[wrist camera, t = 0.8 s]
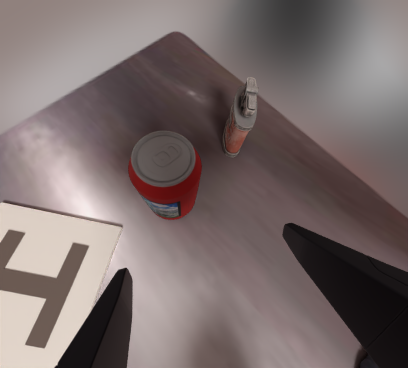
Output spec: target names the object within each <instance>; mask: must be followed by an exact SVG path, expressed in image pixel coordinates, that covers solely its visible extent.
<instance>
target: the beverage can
mask: <svg viewBox="0 0 408 368" xmlns="http://www.w3.org/2000/svg"><path fill="white" fill-rule="evenodd" d="M201 170H202V165H201V159H200V157H199V154H198V153H197V151H196V150H195V148H194V147H193V146H192V144H191V143H190V142H189V140H188V139H186V138H185V137H184V136H182V135H180V134H178V133H176V132H172V131H156V132H152V133H149V134H147V135H145V136H144V137H142V138H141V139H140V140H139V141H138V142H137V143H136V145H135V146H134V148H133V150H132V154H131V158H130V161H129V166H128V172H129V177H130V180H131V182H132V183H133V185H134V186H135V188H136V189H137V191H138V192H139V194H140V195H141V196H142V198H143V199H144V200H145V202H146V203H147V204H148V206H149V207H150V208H151V209H152V210H153V212H154V213H155V214H156V215H158V216H159V217H161V218H164V219H168V220H175V219H179V218H181V217H183V216H185V215H186V214H188V213H189V212H190V211H191V209H192V208H193V206H194V203H195V199H196V195H197V191H198V186H199V181H200V176H201Z"/></svg>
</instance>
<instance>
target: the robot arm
mask: <svg viewBox="0 0 408 368" xmlns="http://www.w3.org/2000/svg"><path fill="white" fill-rule="evenodd" d="M283 238H284V240H285V241H286V243H287V244H288V246H289V248H290V249H291V251H292V252H293V254H294V256H295V257H296V259H297V260H298V262H299V263H300V264H301V266H302V267H303V268H304V270H305V271H306V272H307V274H308V275H309V276H310V278H311V279H312V280H313V282H314V283H315V284H316V286H317V287H318V288H319V289H320V291H321V292H322V293H323V295H324V296H325V297H326V299H327V300H328V301H329V303H330V304H331V305H332V307H333V308H334V309H335V311H336V312H337V313H338V315H339V316H340V317H341V319H342V320H343V321H344V322H345V324H346V325H347V326H348V328H349V329H350V330H351V332H352V333H353V334H354V336H355V337H356V338H357V340H358V341H359V342H360V344H361V345H362V346H363V348H364V349H365V350H366V352H367V353H368V354H369V356H370V357H371V358H372V360H373V361H374V362H375V364H376V365H377V366H378V367H379V368H408V272H406V271H403V270H401V269H398V268H396V267H393V266H391V265H388V264H386V263H384V262H381V261H379V260H376V259H374V258H372V257H370V256H366V255H365V254H363V253H360V252H358V251H356V250H353V249H351V248H349V247H346V246H344V245H342V244H340V243H337V242H335V241H333V240H330V239H328V238H326V237H323V236H321V235H319V234H317V233H314V232H312V231H310V230H307V229H305V228H303V227H300V226H298V225H296V224H294V223H288V224H285V225H284V229H283ZM131 324H132V277H131V275H130V273H129V270H128V269H127V268H123V269H120V270H118V271H117V272H116V274H115V275H114V277H113V278H112V280H111V281H110V283H109V284H108V286H107V287H106V289H105V291H104V292H103V294H102V295H101V297H100V298H99V300H98V301H97V303H96V304H95V306H94V307H93V309H92V311H91V312H90V314H89V315H88V317H87V318H86V320H85V321H84V323H83V324H82V326H81V328H80V329H79V331H78V332H77V334H76V335H75V337H74V338H73V340H72V341H71V343H70V344H69V346H68V348H67V349H66V351H65V352H64V354H63V355H62V357H61V358H60V360H59V361H58V365H56V366H55V367H54V368H127V360H128V351H129V342H130V333H131Z"/></svg>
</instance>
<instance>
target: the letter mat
mask: <svg viewBox="0 0 408 368" xmlns="http://www.w3.org/2000/svg"><path fill="white" fill-rule="evenodd" d="M121 231H122V227H118V226H113V225H109V224H104V223H99V222H94V221H89V220H84V219H80V218H75V217H70V216H65V215H60V214H55V213H50V212H46V211H41V210H36V209H31V208H26V207H21V206H17V205H12V204H7V203H2V202H1V203H0V368H54V367H55V366H56V365H58V361H59V360H60V358H61V357H62V355H63V354H64V352H65V351H66V349H67V348H68V346H69V344H70V343H71V341H72V340H73V338H74V337H75V335H76V334H77V332H78V331H79V329H80V328H81V326H82V324H83V323H84V321H85V320H86V318H87V317H88V315H89V314H90V312H91V311H92V308H93V306H94V303H95V300H96V298H97V295H98V292H99V290H100V287H101V284H102V282H103V279H104V276H105V274H106V271H107V268H108V266H109V263H110V260H111V258H112V255H113V252H114V250H115V247H116V244H117V242H118V239H119V236H120V234H121Z"/></svg>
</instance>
